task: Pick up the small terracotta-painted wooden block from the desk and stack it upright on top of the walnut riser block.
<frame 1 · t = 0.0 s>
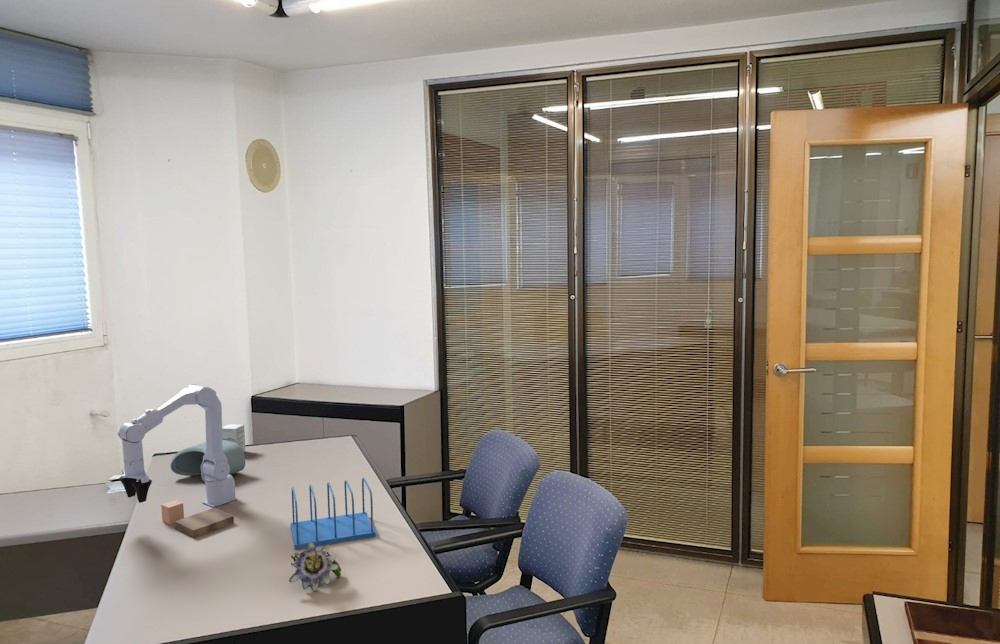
hand: (136, 499, 229), 10 cm above the table, fingers open, 7 cm apart
walnut riser: (204, 525, 232), on the table
supplement box: (234, 454, 308), on the table
passion flower: (315, 583, 193), on the table
file sorter: (332, 533, 226), on the table
terracotta block: (173, 520, 237), on the table
green rounded shell: (208, 478, 278), on the table
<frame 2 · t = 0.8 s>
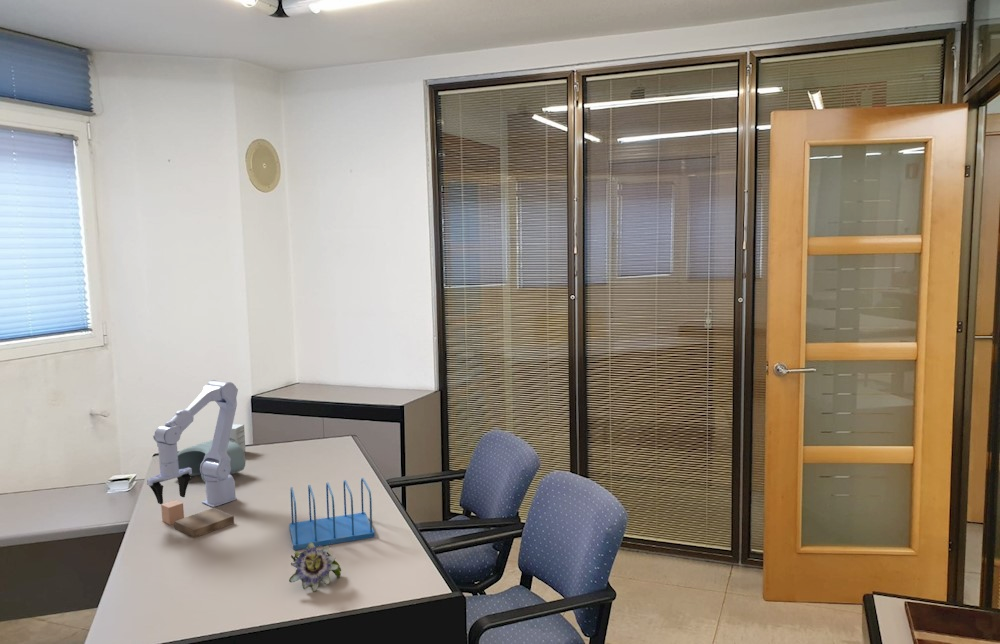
hand: (171, 499, 236), 7 cm above the table, fingers open, 7 cm apart
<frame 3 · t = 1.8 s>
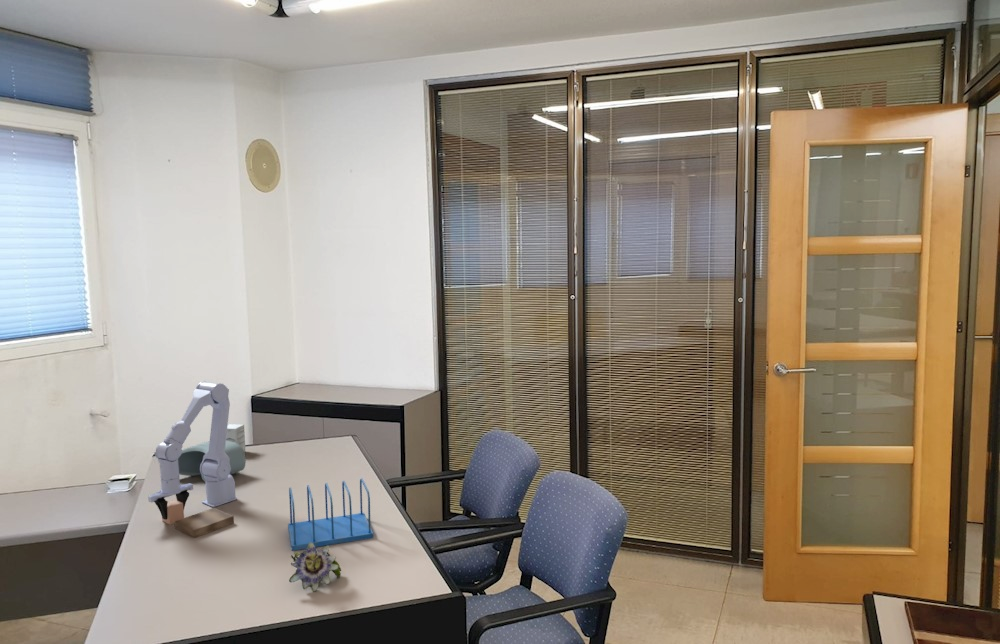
hand: (173, 515, 236), 2 cm above the table, fingers closed on terracotta block, 5 cm apart
terracotta block: (173, 520, 237), on the table, touching gripper
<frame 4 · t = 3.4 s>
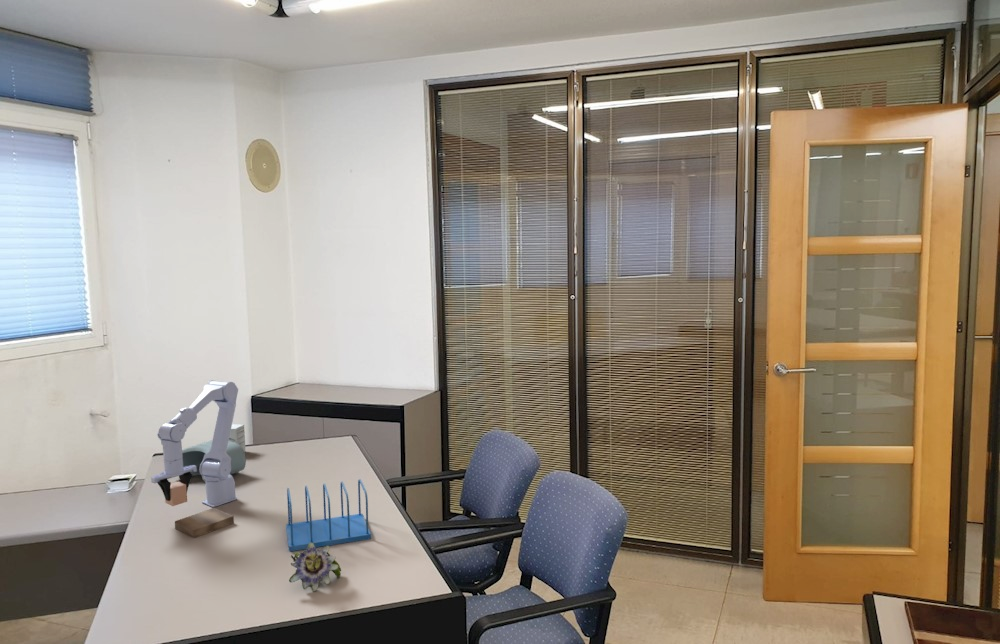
hand: (176, 497, 235), 8 cm above the table, fingers closed on terracotta block, 5 cm apart
terracotta block: (176, 502, 235), point 7 cm above the table, touching gripper
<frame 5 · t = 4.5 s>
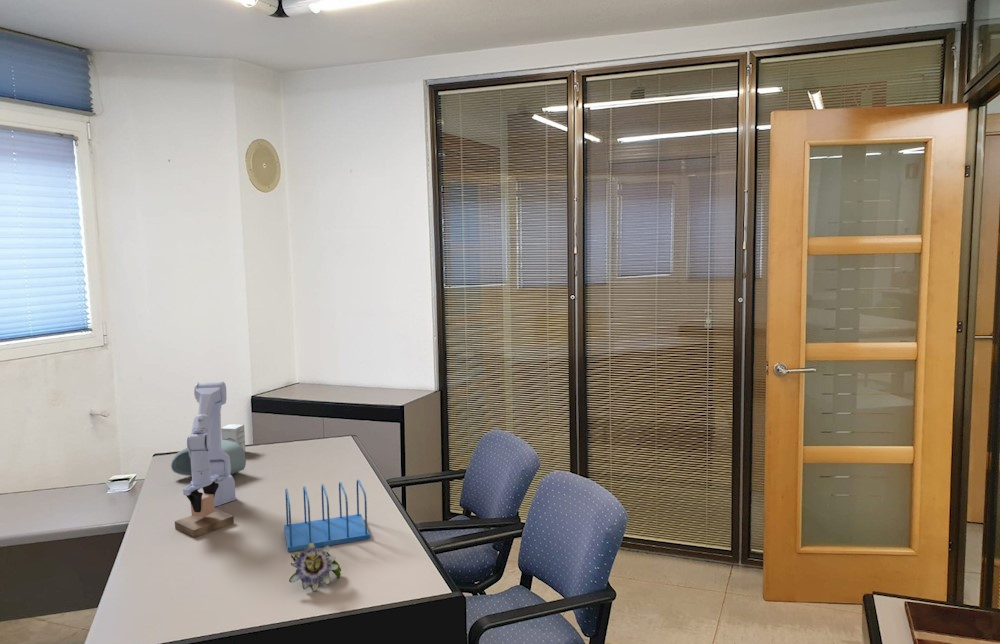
hand: (203, 508, 231), 6 cm above the table, fingers closed on terracotta block, 5 cm apart
terracotta block: (203, 513, 231), point 4 cm above the table, touching gripper
when the fingers open (5 cm above the table, at t = 5.1 s): terracotta block drops 1 cm, resting on walnut riser.
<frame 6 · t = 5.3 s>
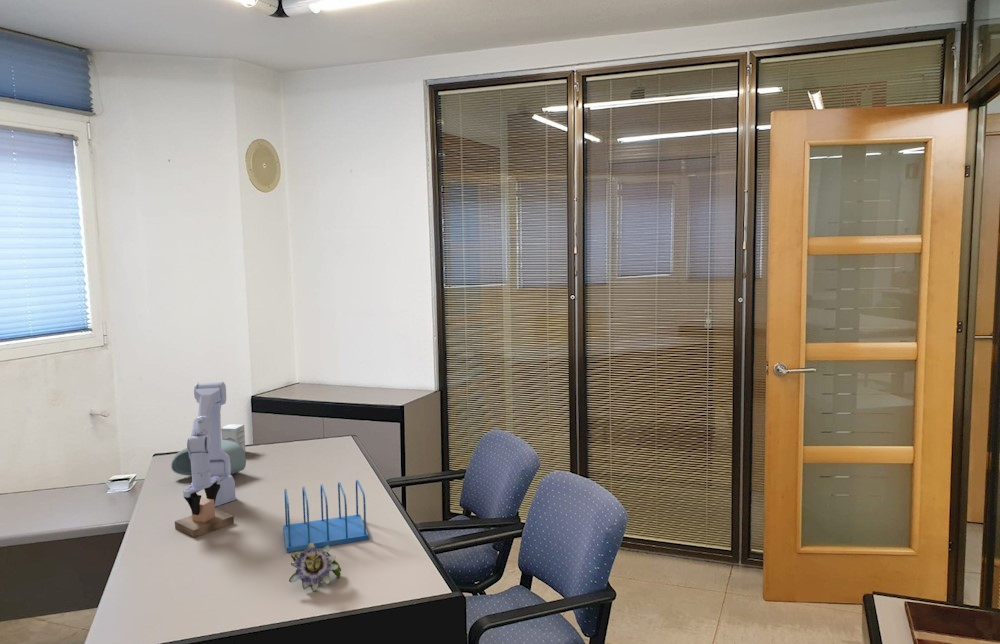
hand: (203, 510, 231), 5 cm above the table, fingers open, 6 cm apart
terracotta block: (203, 518, 232), point 2 cm above the table, touching walnut riser
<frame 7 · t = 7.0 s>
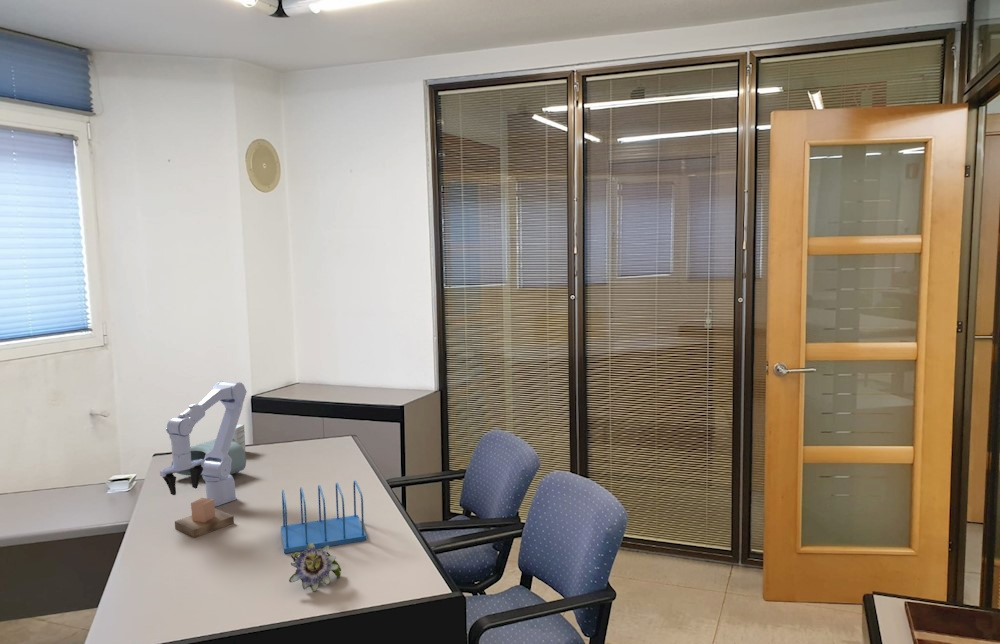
hand: (184, 490, 238), 9 cm above the table, fingers open, 7 cm apart
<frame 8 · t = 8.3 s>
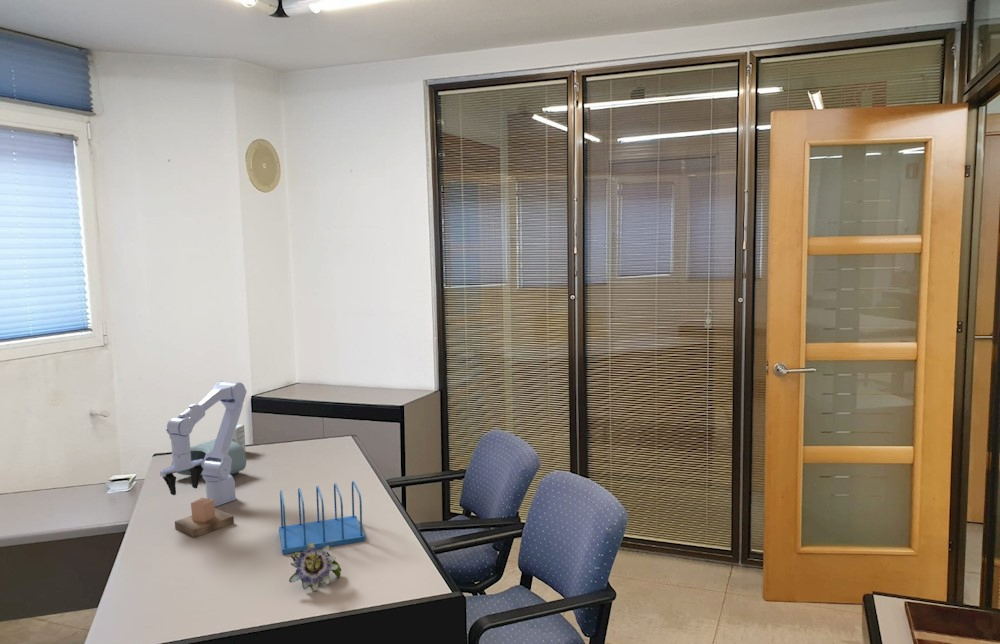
hand: (184, 490, 238), 9 cm above the table, fingers open, 7 cm apart
at the end: terracotta block inside the target area on the walnut riser (0.2 cm from its centre), point 2.5 cm above the walnut riser's base; terracotta block tilted 0°; terracotta block touching walnut riser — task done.
